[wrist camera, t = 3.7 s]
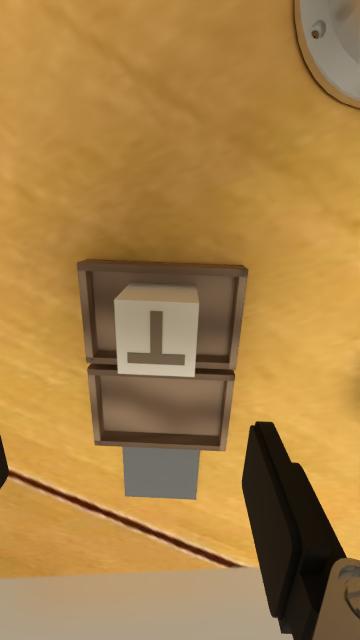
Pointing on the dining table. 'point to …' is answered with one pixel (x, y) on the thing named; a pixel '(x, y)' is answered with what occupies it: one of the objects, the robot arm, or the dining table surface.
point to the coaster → (160, 472)
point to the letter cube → (157, 329)
